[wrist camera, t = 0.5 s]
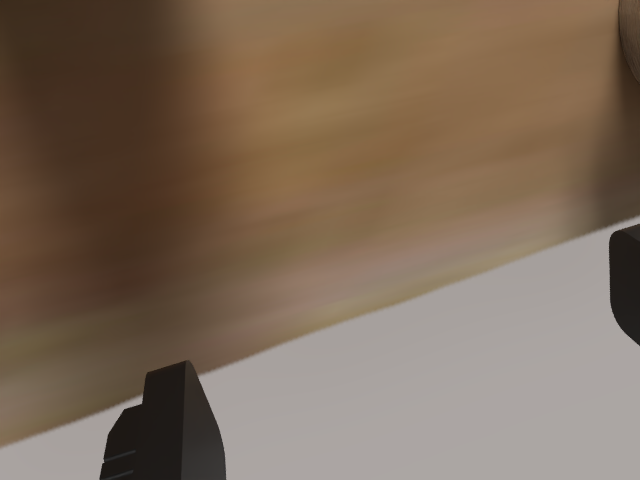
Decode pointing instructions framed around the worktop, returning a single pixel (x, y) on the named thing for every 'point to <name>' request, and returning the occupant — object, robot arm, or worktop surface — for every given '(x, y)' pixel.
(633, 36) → the cooker pot
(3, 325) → the worktop surface
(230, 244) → the worktop surface
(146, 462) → the robot arm
